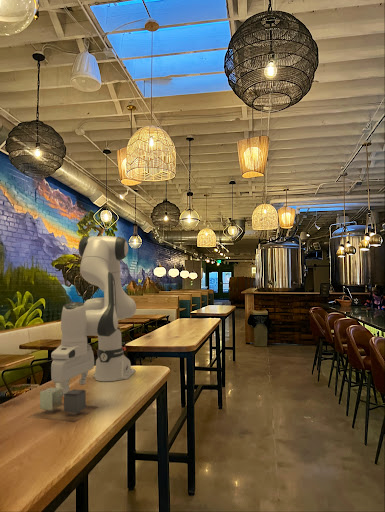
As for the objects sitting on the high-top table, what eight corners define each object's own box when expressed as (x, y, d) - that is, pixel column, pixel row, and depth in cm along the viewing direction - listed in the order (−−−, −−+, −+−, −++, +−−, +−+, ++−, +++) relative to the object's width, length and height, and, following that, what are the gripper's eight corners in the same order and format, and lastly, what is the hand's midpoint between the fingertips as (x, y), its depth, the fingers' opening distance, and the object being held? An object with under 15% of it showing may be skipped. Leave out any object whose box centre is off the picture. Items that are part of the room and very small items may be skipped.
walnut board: (56, 405, 141) (56, 402, 141) (99, 409, 135) (99, 406, 135) (27, 419, 127) (27, 416, 127) (74, 425, 121) (74, 422, 121)
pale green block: (49, 408, 135) (49, 387, 135) (61, 409, 133) (61, 388, 134) (40, 413, 130) (40, 391, 130) (52, 414, 128) (52, 392, 129)
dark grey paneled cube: (73, 406, 132) (73, 389, 132) (85, 407, 130) (85, 390, 131) (64, 411, 127) (63, 393, 127) (76, 412, 125) (76, 394, 126)
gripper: (83, 342, 141) (84, 379, 140) (47, 354, 121) (47, 397, 121) (98, 343, 139) (98, 380, 138) (63, 355, 119) (64, 398, 119)
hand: (74, 388), depth 129 cm, fingers open, 8 cm apart
